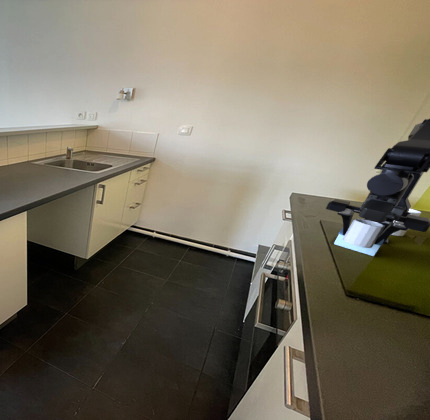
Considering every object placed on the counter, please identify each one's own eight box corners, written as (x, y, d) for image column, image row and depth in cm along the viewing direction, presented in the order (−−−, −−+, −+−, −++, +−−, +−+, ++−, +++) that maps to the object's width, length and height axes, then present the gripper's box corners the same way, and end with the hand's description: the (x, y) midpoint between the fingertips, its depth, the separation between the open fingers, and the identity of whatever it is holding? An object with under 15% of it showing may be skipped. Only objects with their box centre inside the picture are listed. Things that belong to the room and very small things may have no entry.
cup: (344, 236, 79) (355, 217, 76) (373, 244, 74) (385, 224, 72) (341, 241, 76) (352, 220, 73) (370, 250, 71) (384, 228, 69)
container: (337, 237, 90) (343, 226, 88) (377, 249, 83) (384, 237, 81) (332, 243, 85) (339, 232, 83) (374, 256, 78) (382, 244, 76)
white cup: (412, 238, 92) (429, 214, 89) (387, 235, 94) (402, 211, 90) (390, 229, 100) (405, 206, 96) (367, 226, 101) (381, 204, 97)
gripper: (334, 185, 71) (311, 233, 77) (447, 206, 57) (408, 262, 63) (341, 181, 78) (319, 225, 83) (445, 199, 63) (409, 250, 69)
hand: (358, 239), depth 75 cm, fingers closed on cup, 6 cm apart
